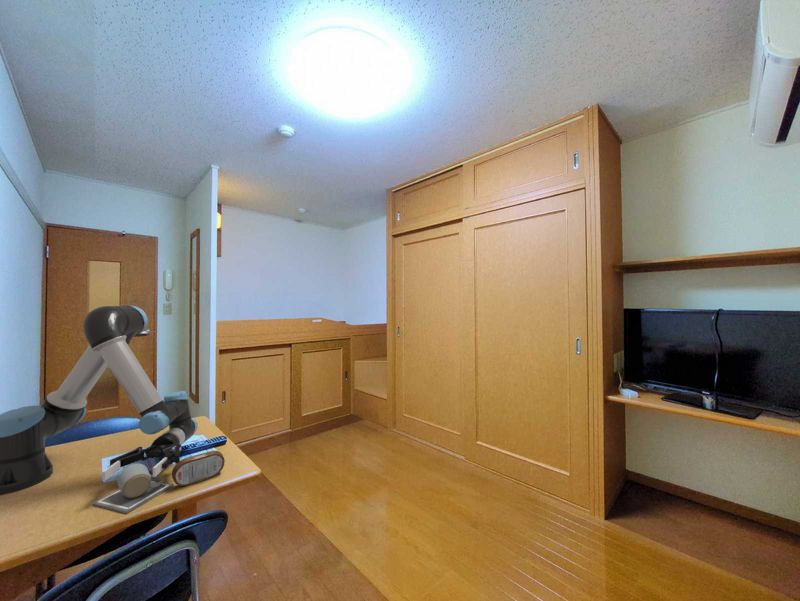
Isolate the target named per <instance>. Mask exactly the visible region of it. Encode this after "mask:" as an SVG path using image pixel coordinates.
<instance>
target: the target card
mask: <svg viewBox="0 0 800 601" xmlns="http://www.w3.org/2000/svg"><path fill="white" fill-rule="evenodd" d="M151 482H152V483H154V482H156V481H151ZM174 487H175V483H170V482H165V481H162V483H161V485H160V486H159V487H155V488H149V489H148V490H147V491H146V492H145V493H144V494H142V495H141V496H138V497H135V498H127V497H125V496H124V495H123V494H122V493H121V490H120V488H118V489H117V490H115V491H113V492H111V493H110V494H108V495H105V496H104V497H102V498H100V499H97V500H96V501H94V502H93V503H91V505H92V506H94V507H99V508H101V507H102V509H106V510H109V509H110V511H112V512H113V511H114V512H118V513H122V514H124V515H125V514H126V515H128V514H129V513H131V512H132V511H134V510H136V509H138V508H140V507H141V506H143V505H144V504H146V503H148V502H149V500H150V501H151V500H153V499H155V498H156V497H158V496H159V495H158V494H160V493H161V494H163V493H164V491H165V492H166V491H168V490H170V489H172V488H174ZM169 488H170V489H169ZM167 489H168V490H167ZM162 492H163V493H162ZM161 494H160V495H161ZM157 495H158V496H157ZM155 496H156V497H155ZM154 497H155V498H154ZM152 498H153V499H152Z"/></svg>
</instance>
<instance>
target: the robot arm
mask: <svg viewBox="0 0 800 601" xmlns="http://www.w3.org/2000/svg"><path fill="white" fill-rule="evenodd" d="M148 322H149V319H148V316H147V314H146V312H145V311H144V310H143V309H142V308H140V307H138V306H135V305H129V304H124V305H104V306H100V307H96V308H94V309H92V310H91V311H90V312H88V313H87V314H86V316H85V317H84V320H83V324H82V329H83V330H82V331H83V334H84V337H85V340H86V341H87V344H88V346H87V348H86V349H85V351H84V352H83V353H82V355H81V356H80V357H79V359H78V360H77V362H76V364H75V365H74V366H73V368H72V369H71V370H70V372H69V373H68V375H67V376H66V378H65V379H64V380H63V382H62V383H61V385H60V386H59V387H58V389H57V390H55V391H52V392H50V393H48V394H47V396H46V397H45V399H44V400H43V401H42V403H41V404H40V405H27V406H22V407H18V408H14V409H10V410H7V411H5V412H2V413H0V495H3V493H4V494H8V492H9V493H13V492H16V491H19V490H20V491H21V490H24V489H27V488H30V487H32V486H34V485H36V484H39V483H41V482H43V481H45V480H47V479H48V478H49V477H51V476H52V475H53V473H54V467H53V464H52V461H51V460H50V459H49V456H48V455H47V453H46V440H47V439H49V438H51V437H53V436H55V435H58V434H60V433H62V432H64V431H67V430H70V429H72V428H73V427H75V425H78V423H80V422H81V421H83V418H84V417H85V416H86V414H87V408H86V406H87V404H88V400H87V396H88V395H89V394H90V392H91V391H92V390H93V388H94V386H95V385H96V384H97V382H98V380H99V379H100V378H101V376H102V375H103V374H104V372H105V370H106V369H107V367H108V368H109V370H110V371H111V373H112V374H113V376H114V377H115V379H116V380H117V382H118V383H119V385H120V386H121V388H122V389H123V391H124V393H125V395H127V397H128V399H129V400H130V401H131V403H132V405H133V406H134V408H135V409H136V411H137V412H138V414H139V415H140V420H139V422H138V424H139V426H138V427H139V429H140V431H141V432H142V433H144V434H146V435H155V434H158V433H160V432H161V431H164V430H165V429H166V428H167V427H168V430H166V431H165V432H163V433H162V434H161V435H159V436H158V437H156V439H155V440H153V441H152V443H151V445H150V446H148V447H146V448H143V446H138V447H136V448H135V449H133V450H131V451H128V452H126V453H123V454H121V455H118V456H116V457H114V458H111V459H110V460H109V466H107V468H105V469H104V470H103V471H101V478H102V479H101V481H102V482H104V481H105V482H106V481H107V480H108V479H110V478H111V477H112V476H114V475H115V474H116V473H117V472H119V471H120V470H121V468H124V467H127V466H130V465H133V464H135V463H136V462H139V461H143V462H144V461H146V460H149V459H157V458H161V460H160V461H159V462H158V463H157V464H155V466H153V467H152V475H153V477H156V476H159V475H160V473H161V472H162V471H163V470H164V469H166V468H168V467H169V466H172V465H173V464H174V463H175V464H177V463H178V462H179V461H181V459H180V458H181V456H180V455H181V453H182V445H183V444H184V443H185V442H187V441H188V440H190V438H192V436H194V434H195V433H196V431H198V430H197V429H198V421H197V420H195V419H194V418H193V417H192V415H191V409H190V404H189V398H188V394H187V392H186V391H184V390H180V391H174V392H171V393H168V394H165V396H163V399H162V397H161V395H160V394H159V392H158V390H157V388H156V387H155V386H154V384H153V382H152V381H151V379H150V377H149V376H148V374H147V373H146V371H145V370H144V368H143V366H142V365H141V363H140V361H139V360H138V359H137V357H136V355H135V353H134V352H133V351H132V349H131V348H130V346H129V344H130V343H131V341H132V340H133V338H134V337H135V336H136V335H139V334H141V333H143V331H145V330H146V328H147V327H148ZM173 453H174V454H173ZM173 455H174V456H173ZM51 474H52V475H51ZM50 475H51V476H50ZM46 478H47V479H46Z"/></svg>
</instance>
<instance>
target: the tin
mask: <svg viewBox="0 0 800 601" xmlns="http://www.w3.org/2000/svg"><path fill="white" fill-rule="evenodd" d="M225 462H226V461H225V458H224V455H223V453H221V452H220V451H218V450H210V451H207V452H203V453H199V454H195V455H192V456H188V457H185V458H183V459H180V461H179V462H178V463H175V465H174V467H173V468H172V471H171V478H172V480H173V482H174V484H176V485H177V486H180V487H181V486H182V487H183V486H185V487H187V486H189V485H192V484H195V483H198V482H201V481H204V480H208V479H211V478H213V477H216V476H217V475H218V474H219V473H220V472H222V470H223V468H224V466H225Z"/></svg>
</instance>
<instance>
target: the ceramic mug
mask: <svg viewBox="0 0 800 601" xmlns="http://www.w3.org/2000/svg"><path fill="white" fill-rule="evenodd" d="M151 481H156V482H154V483H152V482H151ZM162 482H164V481H163V478H162V477H161V476H159V475H157V476H156V477H153V474H151V473H150V472H149V469H148V467H147V466H146V465H145V464H142V463H132V464H129V465H127V466H125V468H123V469H122V470H121V471H120V473H119V474H118V476H117V479H116V484H117V486H118V489H120V490H121V493H122V494H123V495H124V496H125V497H127V498H135V497H138V496H141V495H142V494H144V493H145V492H146V491H147V490H148V489H149V488H155V487H159V486H160V485H161V483H162Z"/></svg>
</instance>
